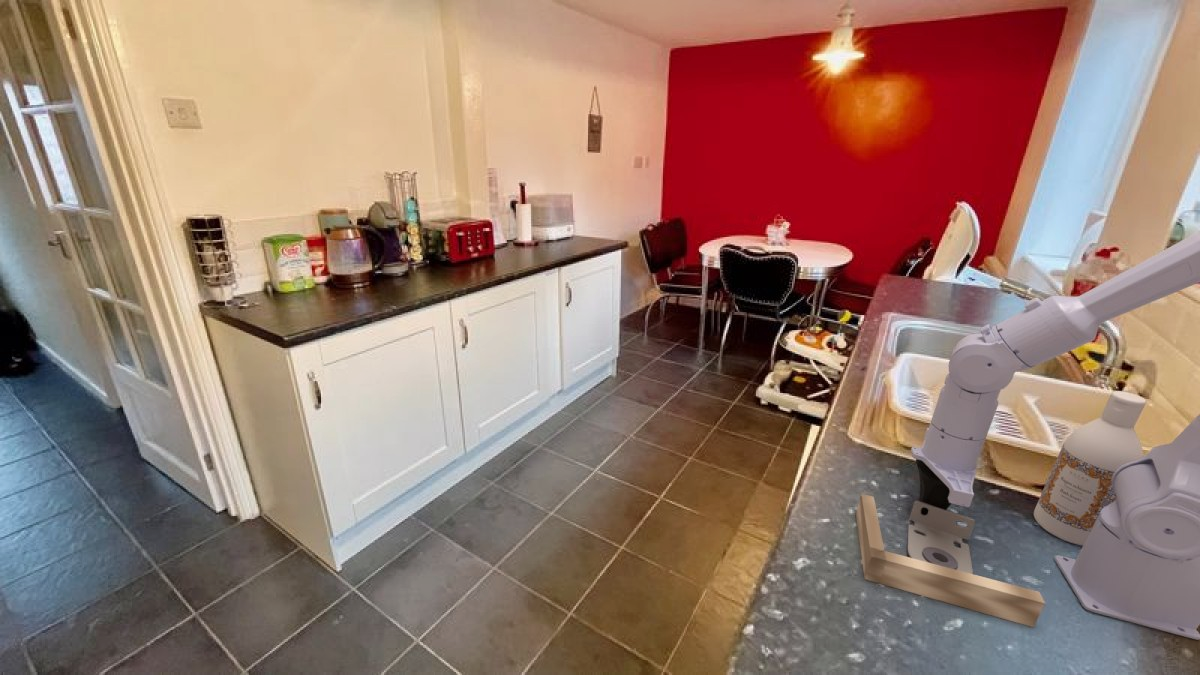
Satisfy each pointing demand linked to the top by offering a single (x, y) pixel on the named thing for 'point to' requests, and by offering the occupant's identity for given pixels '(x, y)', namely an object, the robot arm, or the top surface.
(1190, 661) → the top surface
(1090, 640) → the top surface
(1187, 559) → the robot arm
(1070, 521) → the bath foam
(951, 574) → the l-shaped wooden block
